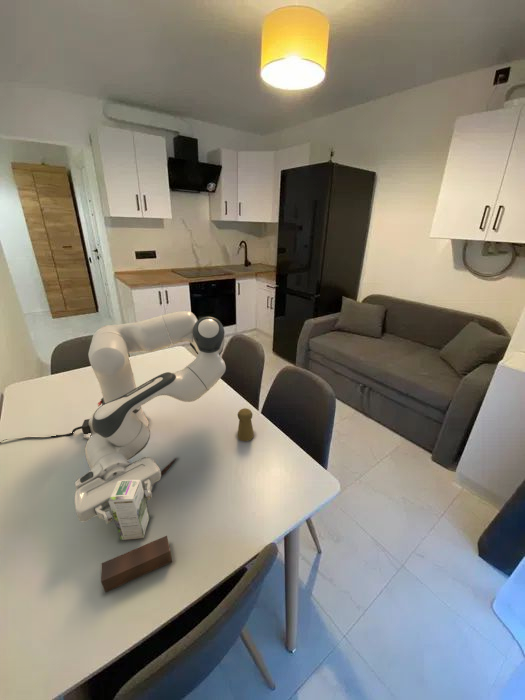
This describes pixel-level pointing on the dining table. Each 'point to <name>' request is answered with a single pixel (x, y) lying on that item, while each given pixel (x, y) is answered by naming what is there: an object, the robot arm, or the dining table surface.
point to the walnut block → (135, 563)
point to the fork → (162, 473)
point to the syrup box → (129, 509)
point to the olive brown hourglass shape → (245, 425)
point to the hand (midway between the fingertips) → (130, 508)
